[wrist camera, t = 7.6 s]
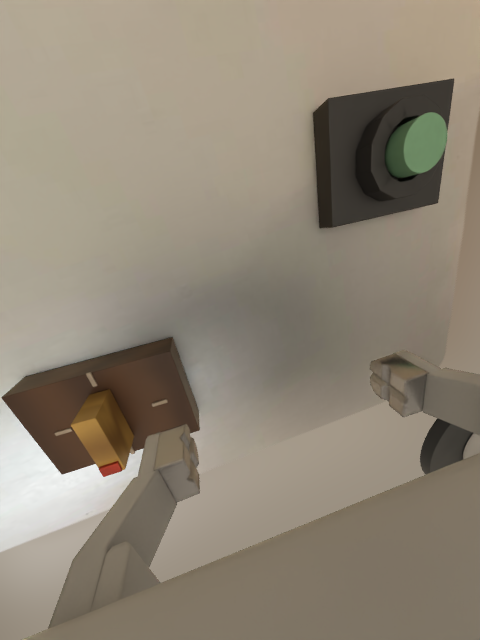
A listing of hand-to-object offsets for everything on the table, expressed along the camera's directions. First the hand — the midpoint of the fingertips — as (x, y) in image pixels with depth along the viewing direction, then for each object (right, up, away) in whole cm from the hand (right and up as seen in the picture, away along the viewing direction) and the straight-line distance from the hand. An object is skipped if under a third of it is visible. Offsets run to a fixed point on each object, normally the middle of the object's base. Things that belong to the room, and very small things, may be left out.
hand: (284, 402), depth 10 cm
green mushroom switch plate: (+10, +18, +12) cm, 24 cm away
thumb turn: (-14, -6, +12) cm, 19 cm away
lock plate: (-14, -5, +15) cm, 21 cm away
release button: (+11, +17, +8) cm, 22 cm away
